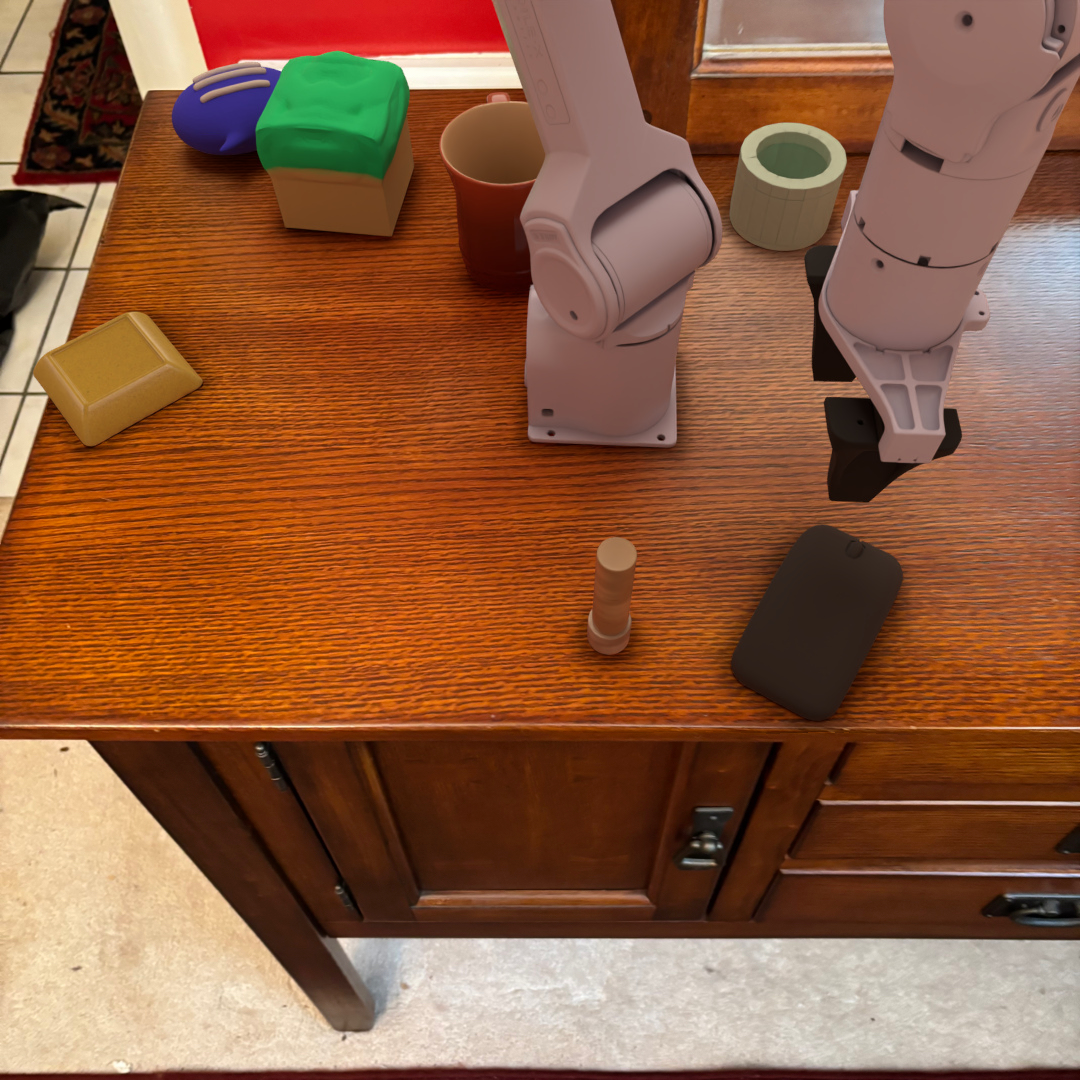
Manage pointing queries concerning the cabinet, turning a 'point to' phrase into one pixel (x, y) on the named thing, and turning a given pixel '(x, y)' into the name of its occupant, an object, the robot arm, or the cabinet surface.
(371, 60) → the cake
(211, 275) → the cabinet surface
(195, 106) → the decorative object
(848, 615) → the computer mouse
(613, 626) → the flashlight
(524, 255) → the mug
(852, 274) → the robot arm
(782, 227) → the jar
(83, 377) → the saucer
